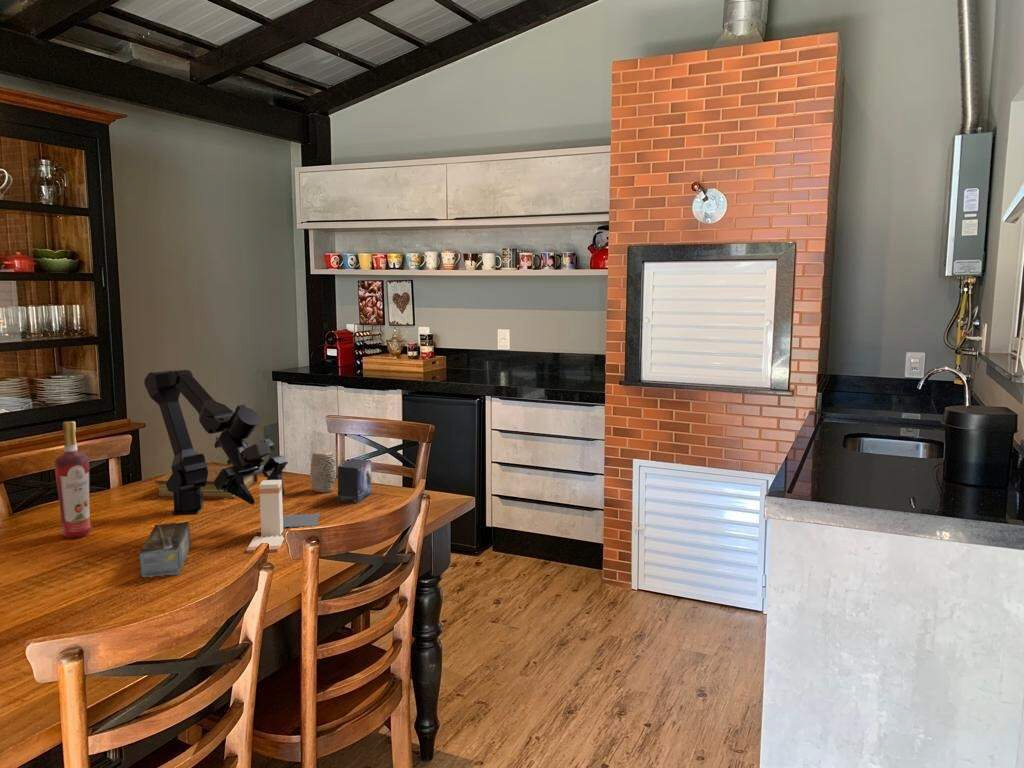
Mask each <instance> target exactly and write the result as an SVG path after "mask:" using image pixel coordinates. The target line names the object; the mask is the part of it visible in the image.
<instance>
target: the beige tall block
mask: <svg viewBox="0 0 1024 768" xmlns="http://www.w3.org/2000/svg"><path fill="white" fill-rule="evenodd" d="M282 481H283V479H282V480H267V479H264V480H262V481H261V482H260V484H259V486H258V487H259V488H258V489H259V490H258V491H259V493H258V494H259V508H260V511H259V512H260V515H259V516H260V532H261V533H260V536H276V535H282V534H281V533H283V531H284V528H283V515H284V513H283V512H284V509H283V496H282Z"/></svg>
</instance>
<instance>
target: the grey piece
mask: <svg viewBox="0 0 1024 768" xmlns="http://www.w3.org/2000/svg"><path fill="white" fill-rule="evenodd" d="M190 528H191V527H190V522H189V521H185V522H184V521H183V522H171V523H163V524H160V523H159V524H155V525H154V527H153V528H152V530H151V532H150V534H149V536H148V538H147V539H146V541H145V543H144V545H142V548H141V550H140V551H139V571H140V574H141V575H140V576H141V578H142V577H150V576H161V577H163V576H162V575H172V576H179V575H180V574H181V571H182V569H183V566H184V563H185V561H186V559H187V557H188V554H189V551H190V548H191V546H192V544H191V543H192V542H191V532H190ZM178 574H179V575H178ZM150 578H151V577H150Z"/></svg>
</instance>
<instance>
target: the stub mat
mask: <svg viewBox="0 0 1024 768" xmlns="http://www.w3.org/2000/svg"><path fill="white" fill-rule="evenodd" d="M319 517H320V518H321V513H309V514H307V513H306V514H303V513H302V514H283V529H287V528H286V527H289V528H288V529H294V528H293V527H302V528H305V527H304V526H316V525H318V522H319V520H320V518H319ZM318 519H319V520H318ZM293 525H295V526H293ZM316 527H317V526H316Z"/></svg>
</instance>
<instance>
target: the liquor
mask: <svg viewBox="0 0 1024 768" xmlns="http://www.w3.org/2000/svg"><path fill="white" fill-rule="evenodd" d="M76 427H77V425H76V421H74V420H73V421H63V422H62V430H63V435H64V439H63V440H64V443H63V454H62V455H60V456H58V457H57V458H56V459H54V461H53V463H54V464H53V465H54V473H55V481H56V483H55V484H56V488H57V495H58V502H59V511H60V519H61V529H60V531H59V532H60V534H61V535H62V536H64V537H65V538H67V539H79V538H82V537H86V536H87V535H88V534H89V533H90V532H91V531H92V530H93V526H92V525H91V517H90V516H91V514H90V513H91V511H90V458H89V456H87V455H85V454H83V453H79V448H78V443H77V438H76V431H77V430H76V429H77V428H76Z"/></svg>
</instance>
